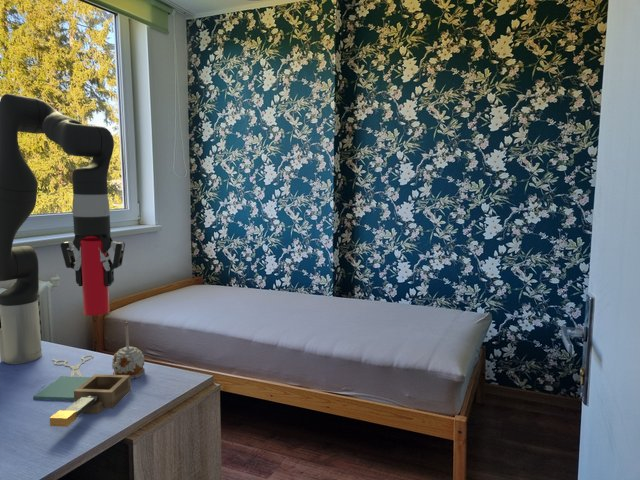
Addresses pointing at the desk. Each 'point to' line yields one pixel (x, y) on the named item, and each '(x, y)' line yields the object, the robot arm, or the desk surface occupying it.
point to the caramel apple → (128, 360)
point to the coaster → (61, 389)
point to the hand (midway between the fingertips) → (95, 285)
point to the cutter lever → (72, 411)
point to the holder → (104, 391)
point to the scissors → (74, 368)
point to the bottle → (93, 277)
